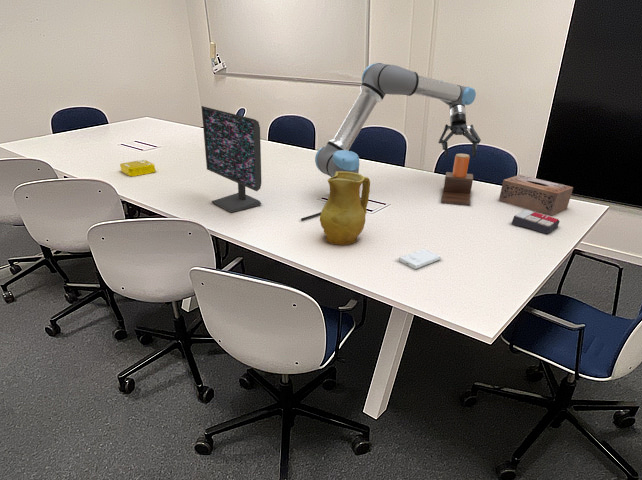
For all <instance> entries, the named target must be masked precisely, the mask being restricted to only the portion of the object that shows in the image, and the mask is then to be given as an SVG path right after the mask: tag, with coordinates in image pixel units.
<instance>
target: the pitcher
mask: <svg viewBox="0 0 642 480" xmlns="http://www.w3.org/2000/svg"><path fill="white" fill-rule="evenodd" d="M327 183H328V185H329V194H328V198H327V201H325V202H326V203H325V204H324V206H323V208H322V209H321V211H320V212H321V215H319V222H320V226H321V228H322V229H323V234H324V235H326V236H325V241H326V242H327V243H329V244H330V245H331V244H333V245H340V246H345V245H352V244H353V245H354V243H356V242H357V241H358V236H359V235H361V233H362V232H363V230H364V228H365V224H366V215H367V207H368V203H369V198H370V193H371V189H370V188H371V180H370V178H369V177H367V176H364V175H363V174H361V173H359V174H358V173H353V172H343V171H342V172H338V171H336V172H335V176H334V177H329V178H327ZM360 191H361V192H360ZM360 193H361V194H360ZM360 199H361V200H360Z"/></svg>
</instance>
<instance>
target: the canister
mask: <svg viewBox="0 0 642 480" xmlns="http://www.w3.org/2000/svg"><path fill="white" fill-rule="evenodd" d="M470 158H471V156H470V154H467V153H456V154H455V155H454V161H453V167H452V172H453V173H452V175H453V176H455V177H466V176H467V174H468V169H469V164H470Z"/></svg>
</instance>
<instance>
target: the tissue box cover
mask: <svg viewBox="0 0 642 480" xmlns="http://www.w3.org/2000/svg"><path fill="white" fill-rule="evenodd" d="M573 191H574V187H573V186H570V185H565V184H563V183H558V182H552V181H548V180H545V179H540V178H536V177H533V176H528V175H522V174H517V175H514V176H512V177H508V178H505V179H503V180H502V184H501V189H500V193H499V198H498V202H501V203H506V204H509V205H512V206H516V207H519V208H523V209H525V210H529V211H532V212H537V213H540V214H543V215H546V216H550V217H553V216H554V215H556V214H559V213H561V212H562V211H565V210H567V209H568V207H569V203H570V201H571V197H572V194H573Z"/></svg>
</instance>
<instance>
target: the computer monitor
mask: <svg viewBox="0 0 642 480" xmlns="http://www.w3.org/2000/svg"><path fill="white" fill-rule="evenodd" d="M201 118H202V129H203V140H204V141H203V142H204V153H205V165H206V170H207V171H209V172H211V173H214V174H216V175H218V176H221V177H223V178H225V179H227V180H230V181H232V182H234V183H236V184H237V192H236V193H233V194H229V195H227V196H223V197H220V198H217V199H214V200H211V203H212V204H214V205H216V206H218V207H220V208H222V209H223V210H225V211H227V212H228V213H231V214H232V213H236V212H240V211H245V210H247V209H251V208H255V207H258V206H261V205H262V202H261V201H260V200H259V199H256V198H255V197H252V196H251V195H248V194H246V188H248V189H249V190H252V191H255V192H258V191H259V190H260V189H261V186H262V150H261V148H262V147H261V126H260V122H259V120H256V119H255V118H252V117H251V118H250V117H247V116H243V115H239V114H235V113H232V112H229V111H224V110H219V109H215V108H212V107H207V106H203V105H201Z"/></svg>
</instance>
